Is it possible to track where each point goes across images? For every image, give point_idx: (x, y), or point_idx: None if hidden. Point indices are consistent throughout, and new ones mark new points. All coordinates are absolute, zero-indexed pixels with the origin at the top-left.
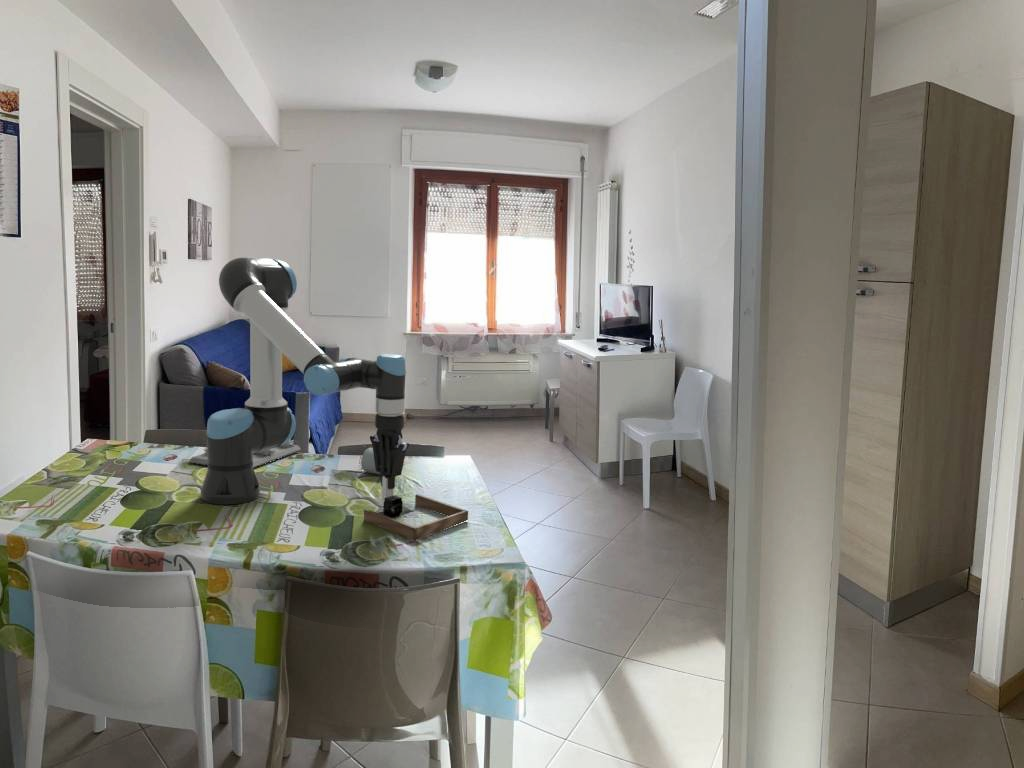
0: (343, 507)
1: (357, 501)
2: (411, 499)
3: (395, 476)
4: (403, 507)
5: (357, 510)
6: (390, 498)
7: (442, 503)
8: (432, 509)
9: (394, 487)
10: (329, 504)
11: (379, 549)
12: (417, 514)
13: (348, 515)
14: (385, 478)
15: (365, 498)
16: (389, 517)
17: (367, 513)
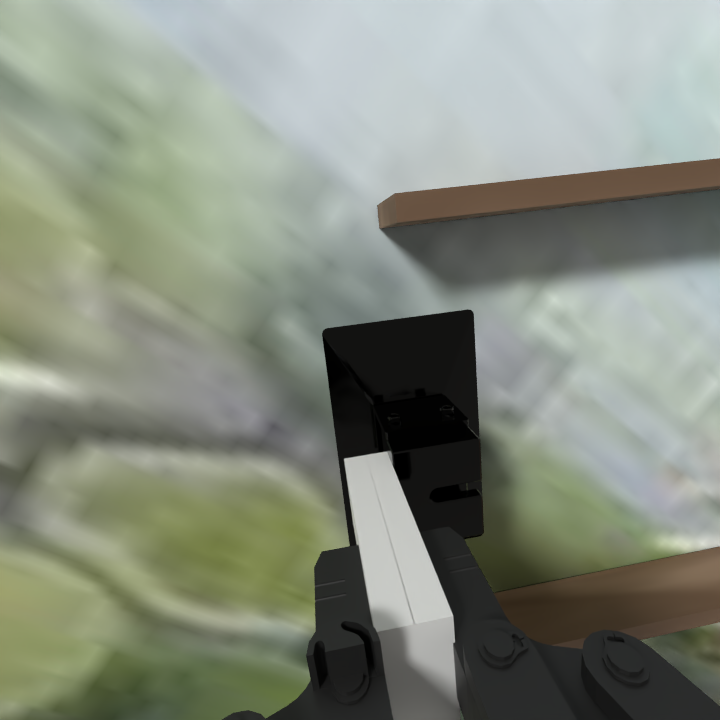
0: (160, 626)
1: (87, 516)
2: (248, 161)
3: (534, 645)
4: (373, 332)
5: (254, 585)
6: (439, 520)
7: (712, 183)
8: (559, 207)
9: (456, 533)
10: (63, 669)
11: (715, 693)
12: (531, 333)
13: (302, 651)
14: (443, 711)
15: (47, 444)
16: (636, 628)
17: None
